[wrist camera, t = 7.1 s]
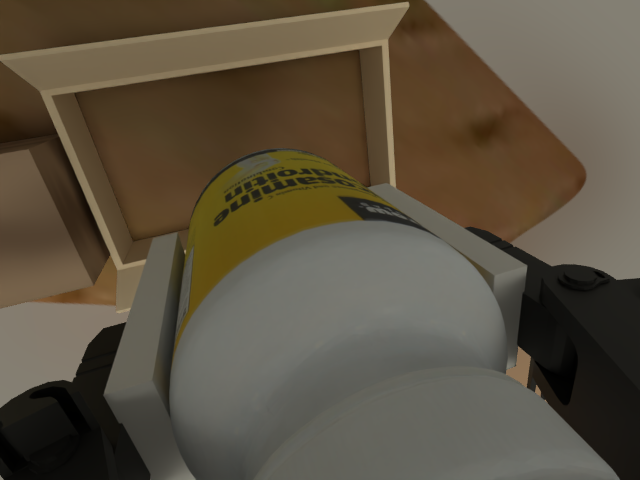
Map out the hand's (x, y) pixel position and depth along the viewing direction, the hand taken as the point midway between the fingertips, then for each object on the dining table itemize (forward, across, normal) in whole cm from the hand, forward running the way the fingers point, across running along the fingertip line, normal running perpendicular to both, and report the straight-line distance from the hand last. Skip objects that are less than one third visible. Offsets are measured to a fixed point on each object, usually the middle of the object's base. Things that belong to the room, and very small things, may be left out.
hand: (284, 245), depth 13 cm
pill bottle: (+2, 0, 0) cm, 2 cm away
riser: (+21, -16, -1) cm, 26 cm away
